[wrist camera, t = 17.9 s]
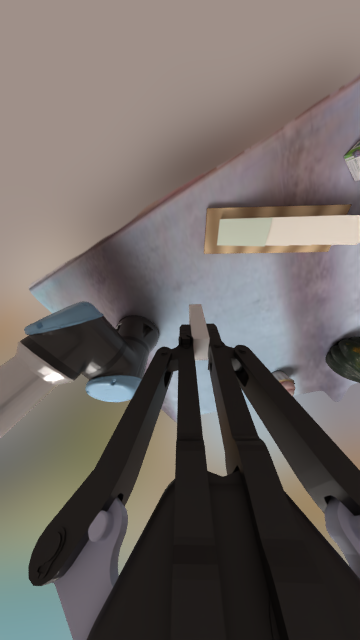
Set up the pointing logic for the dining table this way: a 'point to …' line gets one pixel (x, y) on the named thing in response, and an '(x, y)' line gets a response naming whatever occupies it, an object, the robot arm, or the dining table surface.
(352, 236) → the domino
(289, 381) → the cupcake
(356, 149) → the syrup box
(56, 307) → the dining table surface
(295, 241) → the domino
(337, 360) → the squash
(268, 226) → the domino
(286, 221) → the domino
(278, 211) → the board
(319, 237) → the domino
